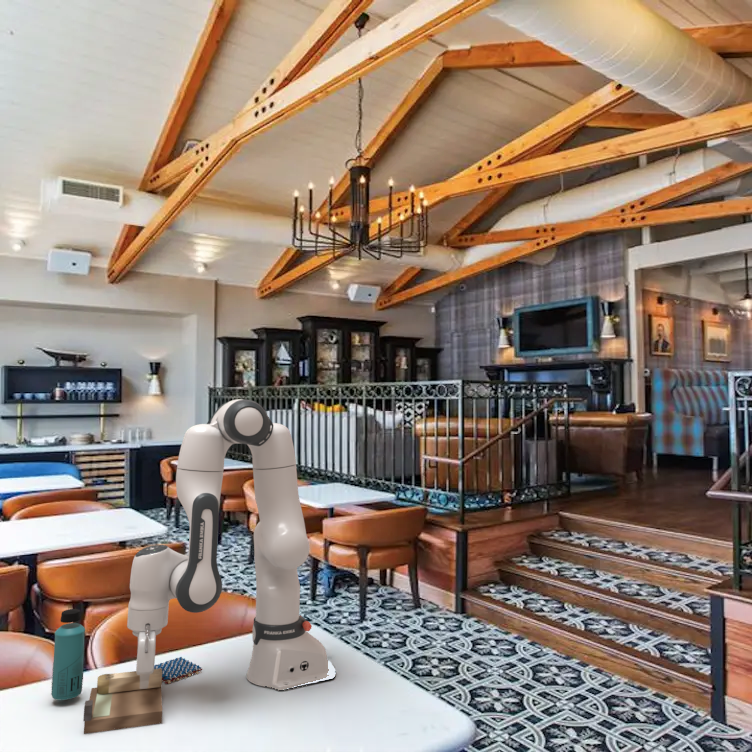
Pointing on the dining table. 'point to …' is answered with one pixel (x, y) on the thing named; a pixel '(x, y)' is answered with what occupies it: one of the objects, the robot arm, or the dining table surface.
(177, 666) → the woven mat
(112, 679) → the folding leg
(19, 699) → the dining table surface
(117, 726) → the brown wooden box
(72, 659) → the beverage bottle
